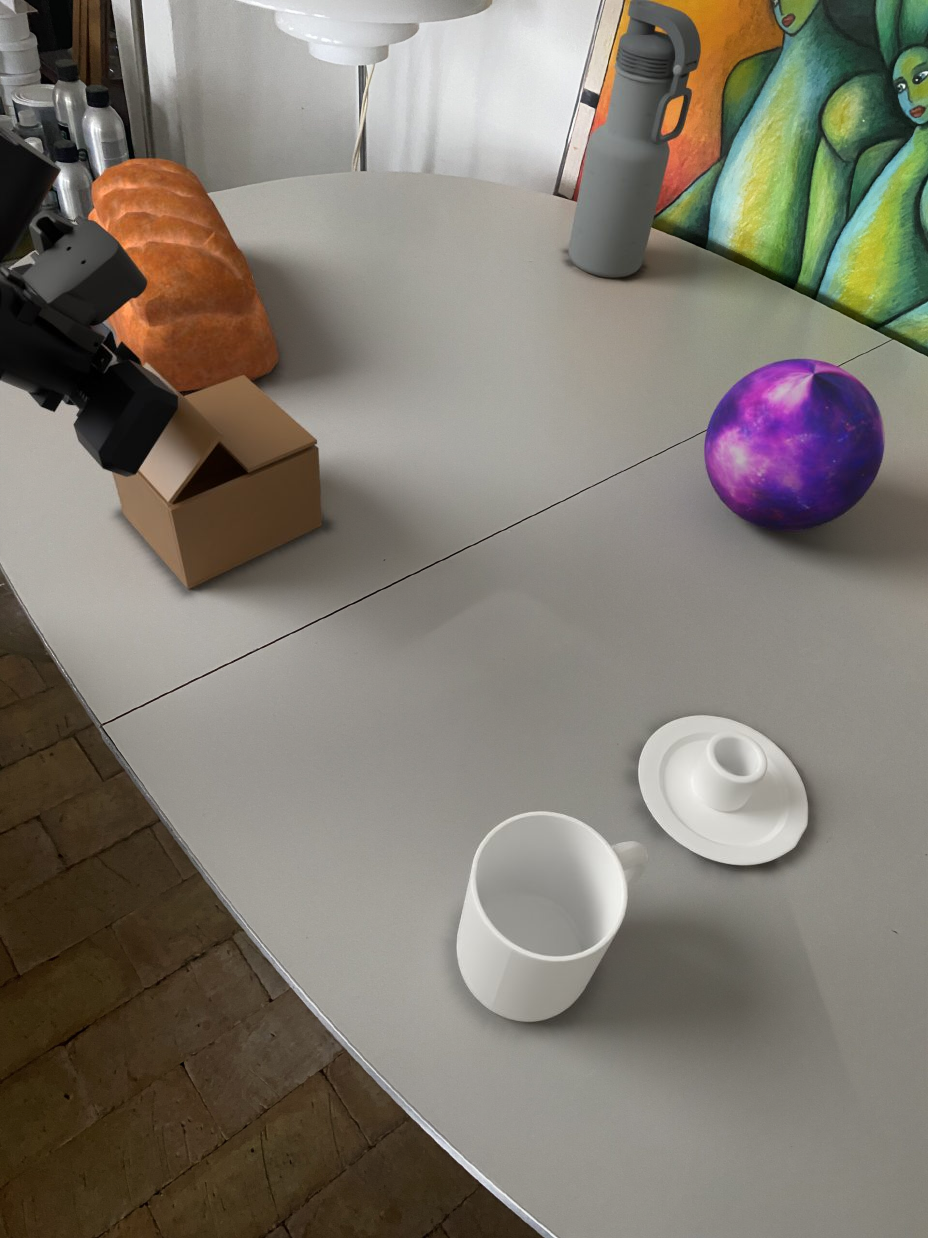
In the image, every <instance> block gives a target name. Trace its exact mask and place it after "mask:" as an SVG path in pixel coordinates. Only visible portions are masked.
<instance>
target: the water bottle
mask: <svg viewBox="0 0 928 1238" xmlns="http://www.w3.org/2000/svg"><path fill="white" fill-rule="evenodd" d="M627 16H628V17H629V21H628V25H627V29H626V33H623V34H622V35H621V36H620V37H619V41H618V46H617V51H616V52H617V53H616V57H615V63H614V65H613V68H614V71H615V72H614V73H615V74H614V78H613V84H612V89H611V94H610V99H609V104H608V109H607V114H606V119H605V123H604V124H602V125H600V126H597V128H596V129H595V130H594V131H592V133H591V134H590V136H589V139H588V142H587V145H586V152H585V155H584V163H583V167H582V172H581V173H582V174H581V178H580V183H579V189H578V195H577V199H576V205H575V211H574V215H573V222H572V227H571V232H570V239H569V244H568V257H569V259H570V261H571V262H572V263H573V265H575V266H576V267H577V268H578V269H579V270H581V271H583V272H586V273H588V274H589V275H594V276H596V277H602V278H614V279H615V278H624V277H629V276H631V275H633V274H635V273H636V272H637V271H639V269H640V268H641V267H642V265H643V263H644V258H645V255H646V250H647V246H648V242H649V240H650V239H649V238H650V234H651V230H652V227H653V223H654V218H655V215H656V211H657V207H658V202H659V199H660V195H661V191H662V187H663V183H664V179H665V175H666V171H667V168H668V162H669V159H670V153H671V152H670V151H671V149H670V145H669V142H670V141H672V140H674V139H677V138H678V137H680V135H681V134H682V131H683V130H684V127H685V124H686V121H687V116H688V114H689V110H690V109H689V108H690V104H691V100H692V98H693V91H692V89H691V88H689V87H687V85H688V82H689V77H690V74H691V72H694V71H696V70H697V69H698V67H699V63H700V59H701V53H702V47H701V46H702V44H701V38H700V34H699V30H698V29H697V26H696V24H695V23H694V21H693V20H692V18H690V16H689V15H688V14H686V13H685V12H684V11H682V10H679V9H677V8H674V7H671V6H668V5H665V4H662V3H659V2H657V1H653V0H630V1H629V5H628V10H627ZM656 27H657V28H659V29H661V30H662V31H663V32H662V31H658V30H656ZM680 97H683V100H682V104H681V109H680V112H679V116H678V120H677V123H676V125H675V127H674V129H673V130H672V131H670V132H669V133H665V134H662V129H663V124H664V122H665V117H666V113H667V112H666V111H667V109H668V105H669V104H670V102H671V101H673V100H675V99H678V98H680Z"/></svg>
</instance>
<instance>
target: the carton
mask: <svg viewBox="0 0 928 1238" xmlns="http://www.w3.org/2000/svg"><path fill="white" fill-rule="evenodd" d="M183 396H184V397H185V398H186V399H187V400H188V401H189V402H190V403H191V404H192V405H193V406H194V407H195V408H196V409H197V410H198V411H199V412H200V413H201V414H202V415H203V416H204V417H205V418H206V419H207V420H209V421H210V422H211V423H212V424H213V425H214V426H215V427H216V428H217V429H218V430H219V431H220V432H221V433H222V434H223V435H224V436H223V437H222V438H221V440H220V441H219V442H218V444H217V445H216V446H215V448H214V449H213V450H212V452H211V453H210V454H209V455H208V457H207V458H206V459H205V461H204V462H203V463H202V465H201V466H200V467H199V469H198V470H197V471H196V473H195V474H194V475H193V477H192V478H191V479H190V481H189V482H188V483H187V485H186V486H185V487H184V488H183V490H182V491H181V492H180V494H179V495H178V496H177V498H176V499H175V500H174V502H173V503H172V504H171V503H169V502H167V501H166V499H165V498H164V497H163V496H162V495H161V494H160V493H159V492H158V491H157V490H156V488H155V487H154V486H153V485H152V484H151V483H150V482H149V481H148V480H147V479H146V478H145V476H144V475H143V474H142V473H141V472H140V471H139V470H138V472H137V473H136V475H133V476H129V477H125V476H122V475H119V474H116V473H114V472H111V474H112V477H113V480H114V484H115V485H114V486H115V488H116V492H117V495H118V499H119V503H120V507H121V510H122V514H123V515H124V517H125V518H126V519H127V520H128V521H129V523H130V524H131V525H132V526H133V528H135V529H136V531H138V533H139V534H140V536H141V537H142V538H143V540H145V541H146V542H147V544H148V545H149V546H150V547H151V548H152V549H153V550H154V552H155V553H156V554H157V555H158V557H160V558H161V560H162V561H163V562H164V563H165V564H166V565H167V566H168V568H169V570H171V571H172V572H173V574H174V575H175V576H176V577H177V578H178V579H179V581H180V582H181V583H182V584H183V585H184V587H185V588H186V589H187V590H190V589H193V588H195V587H196V586H199V585H200V584H203V583H205V582H207V581H209V580H211V579H214V578H216V577H218V576H219V575H222V574H223V573H226V572H228V571H230V570H232V569H234V568H236V567H238V566H240V565H241V566H242V565H243V564H245V563H247V562H249V561H251V560H253V559H255V558H258V557H259V556H261V555H263V554H266V553H268V552H270V551H272V550H274V549H275V548H279V547H280V546H283V545H284V544H287V543H288V542H291V541H293V540H295V539H297V538H299V537H302V536H303V535H306V534H308V533H310V532H312V531H313V530H316V529H318V528H320V527H323V517H322V516H323V515H322V495H321V493H322V492H321V472H320V471H321V470H320V450H319V449H320V448H319V447H318V446H317V444H318V439H317V438H316V437H314V436H313V435H312V433H310V432H309V431H308V430H307V429H305V427H303V425H301V424H300V423H299V422H298V421H297V420H295V418H293V417H292V416H291V415H289V413H288V412H286V411H285V410H284V409H283V408H282V407H281V406H280V405H278V403H276V402H275V401H274V400H273V399H272V398H271V397H270V396H268V395H267V394H266V393H265V392H264V391H262V390H261V388H260V387H258V386H257V385H256V384H255V383H254V382H253V381H252V380H251V381H250V380H249V379H248V378H247V377H246V376H245V375H242V376H239V377H236V378H233V379H231V380H228V381H225V382H222V383H219V384H217V385H214V386H211V387H208V388H205V389H199V390H198V391H197V390H196V391H195V392H192V393H189V394H186V395H183Z"/></svg>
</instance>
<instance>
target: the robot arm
mask: <svg viewBox="0 0 928 1238" xmlns="http://www.w3.org/2000/svg"><path fill="white" fill-rule="evenodd" d="M61 171H62V168H61V167H60V166H58V164H56V163H55V162H54V161H53V160H51V159H50V158H49V157H48V156H46V155H45V154H44V153H43V152H41V151H40V150H39V149H37V148H36V147H35V146H33V145H32V144H31V143H29V142H28V141H27V140H25V139H24V138H23V137H21V136H20V135H18V134H17V133H16V132H14V131H12V130H11V129H10V128H9V127H7V126H6V125H4V124H3V123H2V122H0V263H3V262H4V261H5V259H6V257H7V256H13V254H14V253H15V251H16V249H17V247H18V246H19V244H20V242H21V241H22V239H23V237H24V235H25V234H26V232H27V230H28V229H29V232H30V236H31V240H32V244H33V248H34V250H35V251H33V252H32V253H31V254H30V255H29V256H30V258H31V259H32V260H33V262H34V264H33V263H30V262H29V263H26V264H22V265H18V266H14V267H12V268H11V269H10V268H8V267H7V266H4V265H1V267H0V381H1V382H2V383H5V384H7V385H10V386H12V387H15V388H17V389H20V390H23V391H24V392H27V393H28V394H29V396H31V398H32V399H33V400H34V401H35V402H36V404H38V406H39V407H40V408H43V409H45V410H48V411H50V412H53V413H55V412H56V411H57V409H58V407H59V406H60V404H61V402H62V401H63V403H64V404H65V405H67V406H74V407H76V408H77V409H78V410H77V412H76V414H75V416H76V417H77V418H76V420H75V421H74V423H73V429H74V432H75V435H76V439H77V441H78V442H79V443H80V444H81V446H82V447H83V449H85V450H86V451H87V452H88V454H89V455H90V456H91V457H92V458H93V459H94V460H95V462H96V463H97V464H98V465H99V466H100V467H101V468H102V470H105V471H108V472H110V473H112V472H114V473H116V474H119V475H122V476H125V477H129V476H133V475H136V473H137V472H138V470H139V469H140V467H141V465H142V464H143V462H144V461H145V459H146V458H147V456H148V454H149V453H150V451H151V450H152V448H153V447H154V445H155V443H156V442H157V440H158V439H159V437H160V436H161V434H162V432H163V431H164V429H165V428H166V426H167V425H168V423H169V422H170V420H171V418H172V417H173V415H174V414H175V412H176V411H177V409H178V396H177V395H176V394H175V393H174V392H173V391H172V390H171V389H170V388H169V387H168V386H167V385H166V384H165V383H164V382H163V381H162V380H161V379H160V378H159V377H157V376H156V375H155V374H153V373H152V372H150V371H149V370H147V369H146V368H144V367H143V366H142V363H141V360H140V359H139V357H138V356H137V355H136V354H135V353H134V352H133V351H131V350H130V349H129V348H128V347H127V346H126V345H125V344H124V343H123V342H122V341H121V342H120V344H119V346H118V345H117V342H116V340H115V335H114V332H113V331H112V330H111V328H109V327H108V326H107V325H106V324H105V321H108V318H109V317H110V316H111V315H112V314H114V313H115V312H116V311H117V310H118V309H120V308H121V307H122V306H123V305H124V304H125V303H127V302H128V301H129V300H130V299H132V298H137V297H138V296H140V295H141V294H142V293H143V292H144V290H145V289H146V287H147V279H146V278H145V276H144V275H143V274H142V272H141V271H140V270H139V268H138V267H137V266H136V264H135V263H134V262H133V260H132V259H131V258H130V256H129V255H128V254H127V252H126V251H125V250H124V248H123V247H122V246H121V244H120V243H119V242H118V241H117V240H116V239H115V238H114V237H113V236H112V235H111V234H109V233H108V232H107V231H106V230H105V229H104V228H102V227H101V226H100V225H99V224H98V223H97V222H95V221H93V220H88V219H86V220H85V219H84V218H82V217H81V216H80V215H77V216H76V217H75V218H74V221H75V222H76V224H75V223H73V222H71V220H69V219H67V218H65V217H63V216H61V215H59V214H57V213H54V212H53V211H50V210H48V209H46V208H45V209H42V210H40V211H39V209H40V208H41V206H42V204H43V202H44V201H45V199H46V197H47V196H48V194H49V192H50V190H51V189H52V186H53V185H54V183H55V182H56V180H57V178H58V177H59V175H60V173H61ZM38 211H39V213H38Z"/></svg>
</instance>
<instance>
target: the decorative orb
mask: <svg viewBox="0 0 928 1238" xmlns="http://www.w3.org/2000/svg"><path fill="white" fill-rule="evenodd" d="M885 445H886V432H885V425H884V420H883V416H882V412H881V410H880V408H879V405H878V403H877V402H876V400H875V398H874V396H873V394H872V393H871V392H870V390H869V389H868V388H867V387H866V386H865V384H864V383H862V381H860V380H859V379H858V378H857V377H856V376H854V375H853V374H852V373H850V372H848V370H845V369H844V368H841V367H840V366H838V365H835V364H832V363H830V362H827V361H823V360H819V359H812V358H789V359H784V360H779V361H774V362H771V363H768V364H766V365H765V364H764V365H763V366H761V367H757V368H756V369H755V370H752V371H751V372H749V373H748V374H746V375H744V376H743V377H742V378H741V379H739V380H738V381H737V382H736V383H734V385H732V386H731V387H730V388H729V389H728V390H727V392H725V394H724V395H723V397H722V398H721V399H720V401H719V402H718V404H717V405H716V407H715V408H714V410H713V412H712V414H711V416H710V420H709V421H708V425H707V428H706V432H705V436H704V446H703V451H704V452H703V454H704V455H703V457H704V465H705V470H706V474H707V476H708V480H709V482H710V484H711V486H712V488H713V490H714V492H715V493H716V495H717V496H718V498H719V499H720V501H721V502H722V503H723V504H724V506H726V507H727V508H728V509H729V510H730V511H731V512H732V513H734V514H735V515H736V516H737V517H739V518H741V519H742V520H744V521H746V522H748V523H750V524H752V525H754V526H757V527H760V528H763V529H766V530H771V531H779V532H797V531H798V532H799V531H806V530H809V529H813V528H818V527H820V526H823V525H826V524H828V523H830V522H832V521H834V520H836V519H838V518H839V517H842V516H843V515H844V514H845V513H847V512H848V511H850V510H851V509H852V508H853V507H855V505H856V504H858V503H859V502H860V500H862V499H863V498H864V496H865V495H866V494H867V492H868V491H869V490H870V488H871V487H872V485H873V483H874V482H875V480H876V477H877V476H878V473H879V472H880V469H881V465H882V462H883V459H884V453H885Z"/></svg>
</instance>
